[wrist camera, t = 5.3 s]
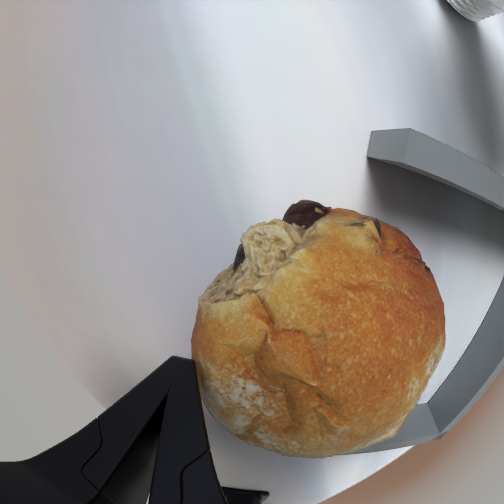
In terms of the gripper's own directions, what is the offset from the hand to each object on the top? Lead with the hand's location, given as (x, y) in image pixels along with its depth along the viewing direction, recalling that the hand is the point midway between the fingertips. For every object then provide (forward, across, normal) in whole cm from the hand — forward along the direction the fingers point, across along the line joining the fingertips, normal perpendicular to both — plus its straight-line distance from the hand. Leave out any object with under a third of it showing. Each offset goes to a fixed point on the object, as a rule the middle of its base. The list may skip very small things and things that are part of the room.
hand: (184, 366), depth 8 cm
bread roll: (+4, -5, 0) cm, 6 cm away
